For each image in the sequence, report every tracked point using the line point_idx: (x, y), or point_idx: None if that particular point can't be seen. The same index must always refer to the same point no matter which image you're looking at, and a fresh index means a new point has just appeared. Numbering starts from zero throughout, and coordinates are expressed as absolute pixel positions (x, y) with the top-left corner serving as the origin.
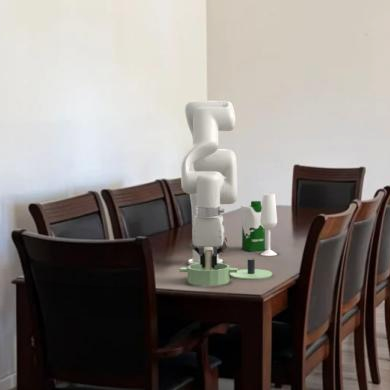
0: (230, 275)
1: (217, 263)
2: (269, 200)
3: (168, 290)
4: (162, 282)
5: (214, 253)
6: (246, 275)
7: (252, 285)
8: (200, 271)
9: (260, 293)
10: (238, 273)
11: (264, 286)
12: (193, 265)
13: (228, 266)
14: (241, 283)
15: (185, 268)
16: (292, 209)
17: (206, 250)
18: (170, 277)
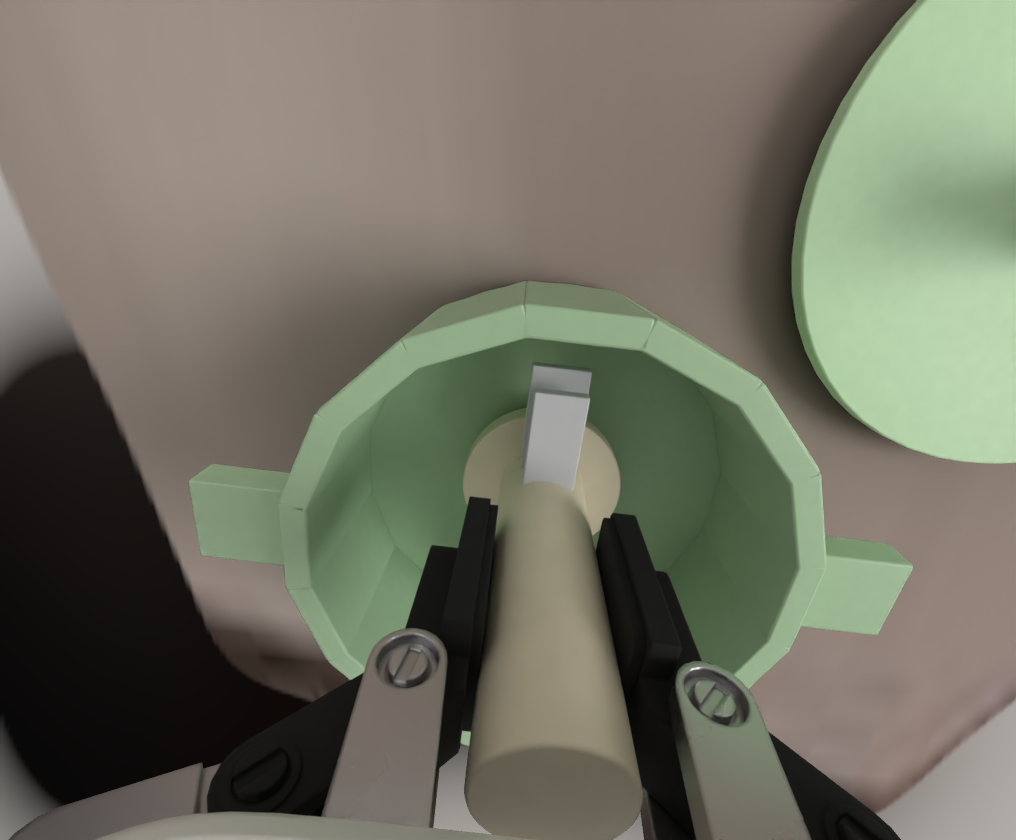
0: (795, 277)
1: (680, 371)
2: None
3: (264, 662)
4: (121, 422)
5: (664, 807)
6: (981, 345)
7: (908, 589)
8: (462, 734)
9: (883, 781)
10: (921, 217)
11: (995, 626)
12: (330, 460)
13: (803, 603)
14: (834, 516)
15: (260, 534)
16: None
17: (504, 797)
18: (106, 190)
